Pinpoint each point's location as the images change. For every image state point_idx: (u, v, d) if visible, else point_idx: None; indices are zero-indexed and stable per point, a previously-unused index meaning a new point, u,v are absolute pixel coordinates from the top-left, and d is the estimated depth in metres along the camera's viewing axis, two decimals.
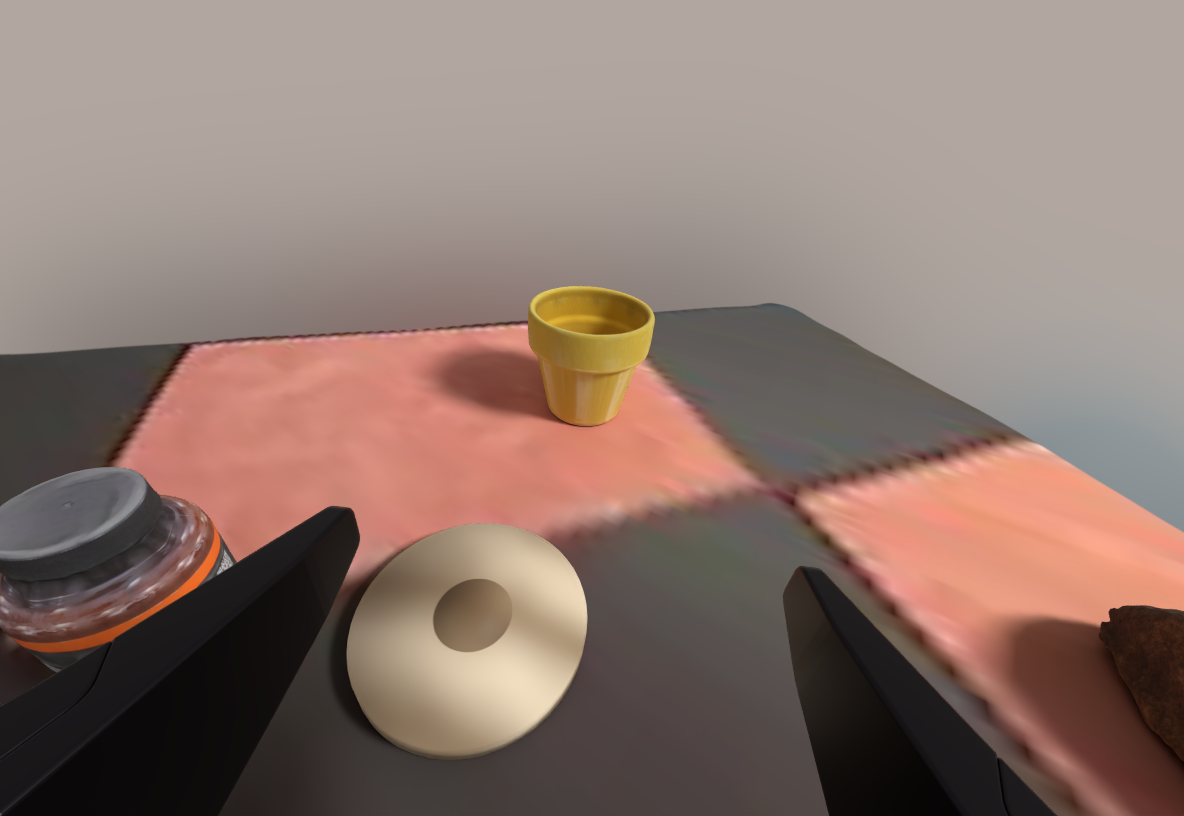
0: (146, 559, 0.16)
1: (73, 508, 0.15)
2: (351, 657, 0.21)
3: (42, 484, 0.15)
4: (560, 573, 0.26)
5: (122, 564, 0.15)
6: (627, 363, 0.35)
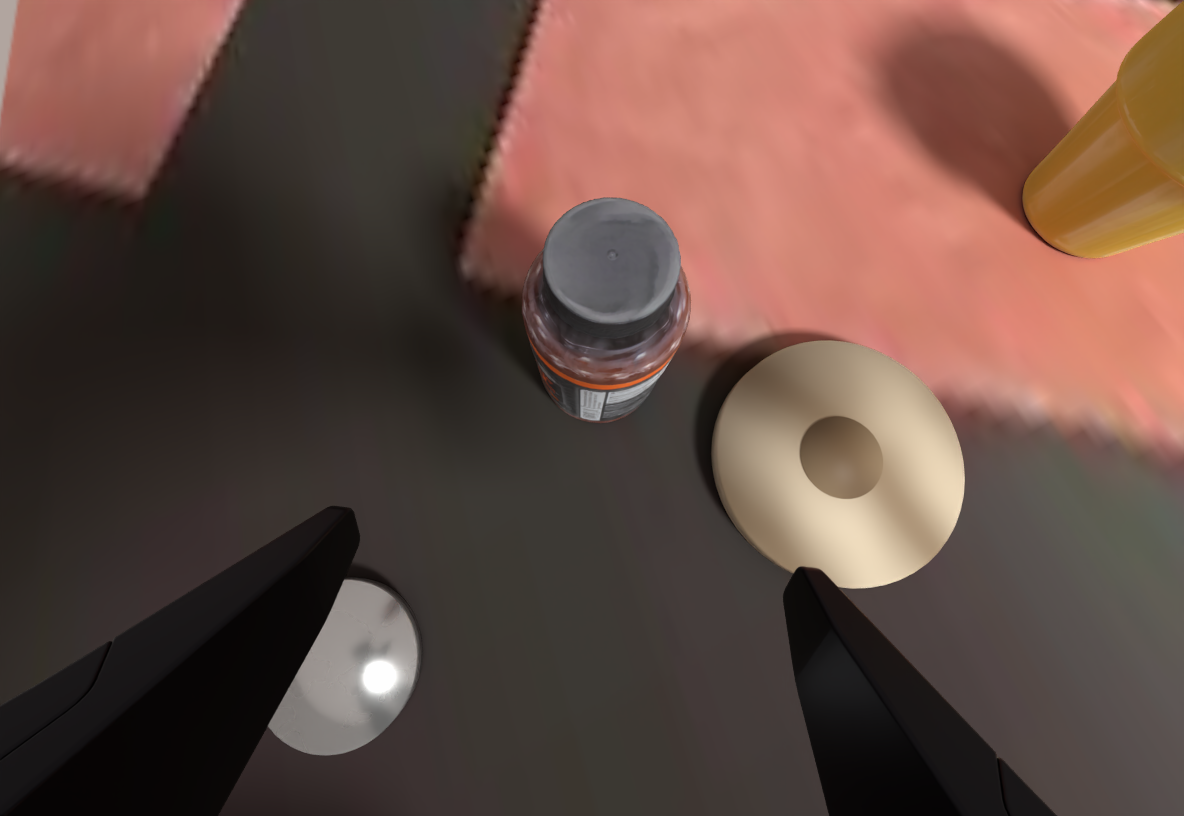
0: (653, 334, 0.14)
1: (619, 263, 0.13)
2: (722, 440, 0.22)
3: (584, 207, 0.13)
4: (946, 461, 0.22)
5: (638, 336, 0.14)
6: None
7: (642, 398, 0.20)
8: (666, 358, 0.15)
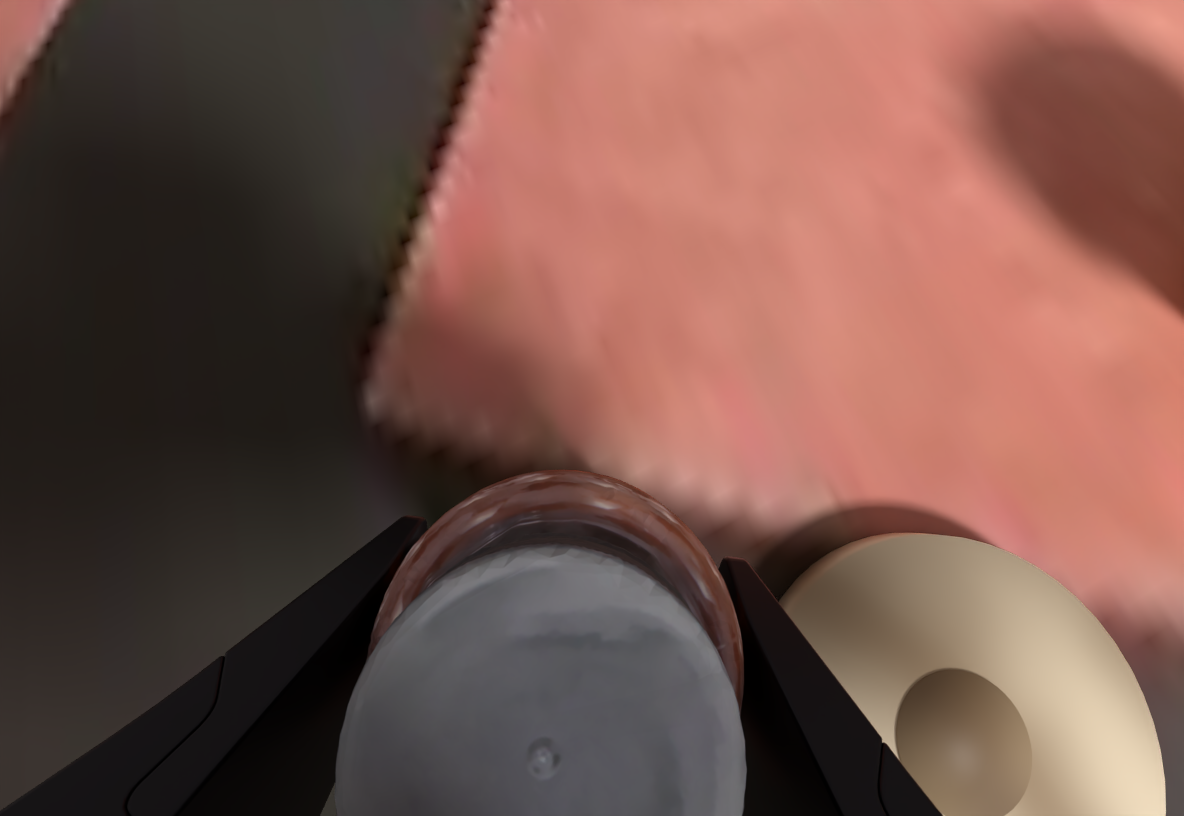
0: None
1: (564, 790, 0.04)
2: None
3: (466, 591, 0.04)
4: (1133, 749, 0.13)
5: None
6: None
7: None
8: None
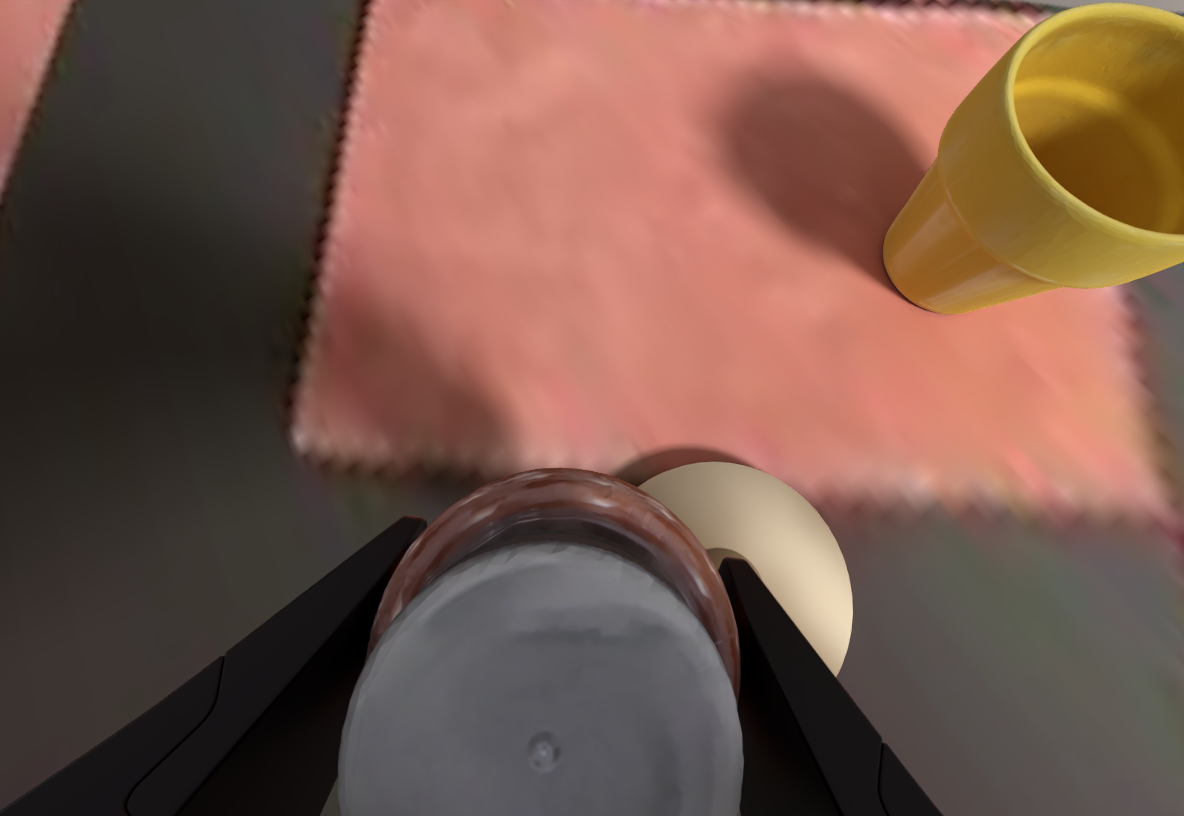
0: None
1: (564, 784, 0.04)
2: None
3: (467, 587, 0.05)
4: (831, 578, 0.21)
5: None
6: (1130, 280, 0.17)
7: None
8: None
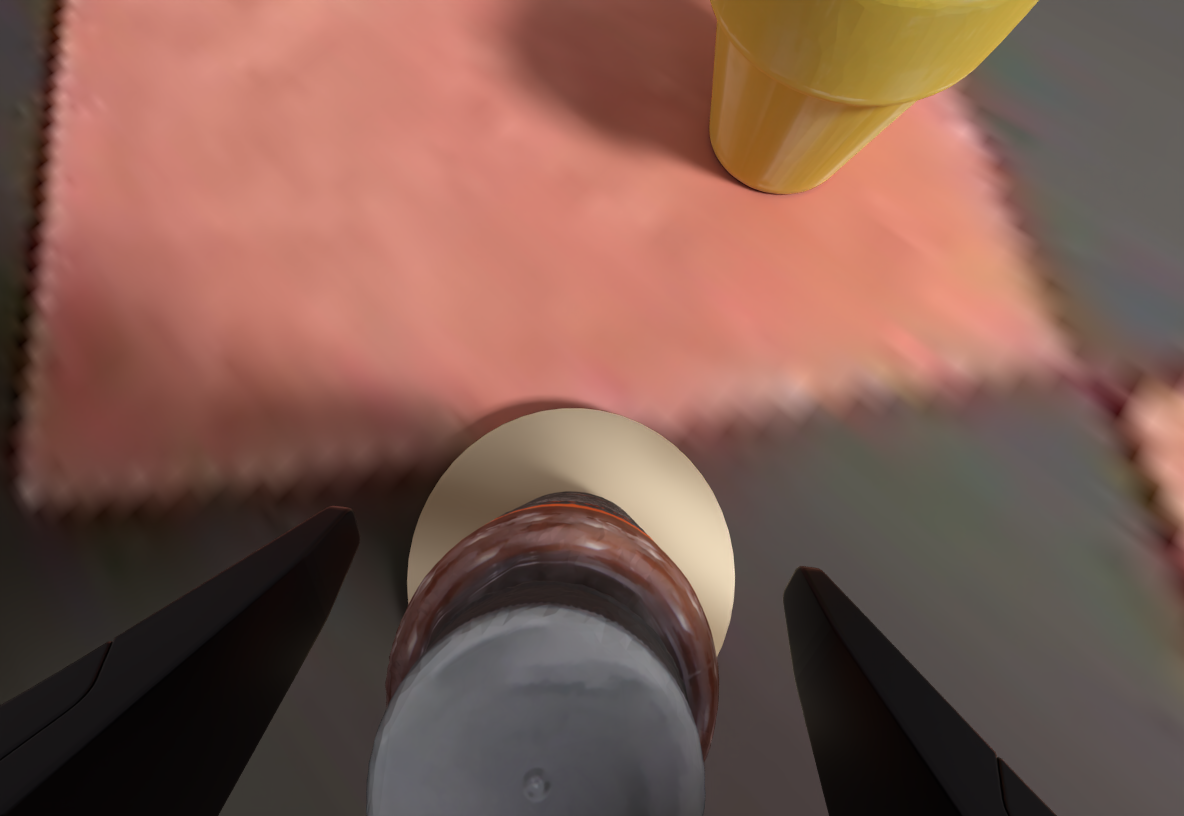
0: None
1: (553, 811, 0.05)
2: None
3: (471, 645, 0.05)
4: (701, 518, 0.17)
5: None
6: (948, 80, 0.14)
7: None
8: None
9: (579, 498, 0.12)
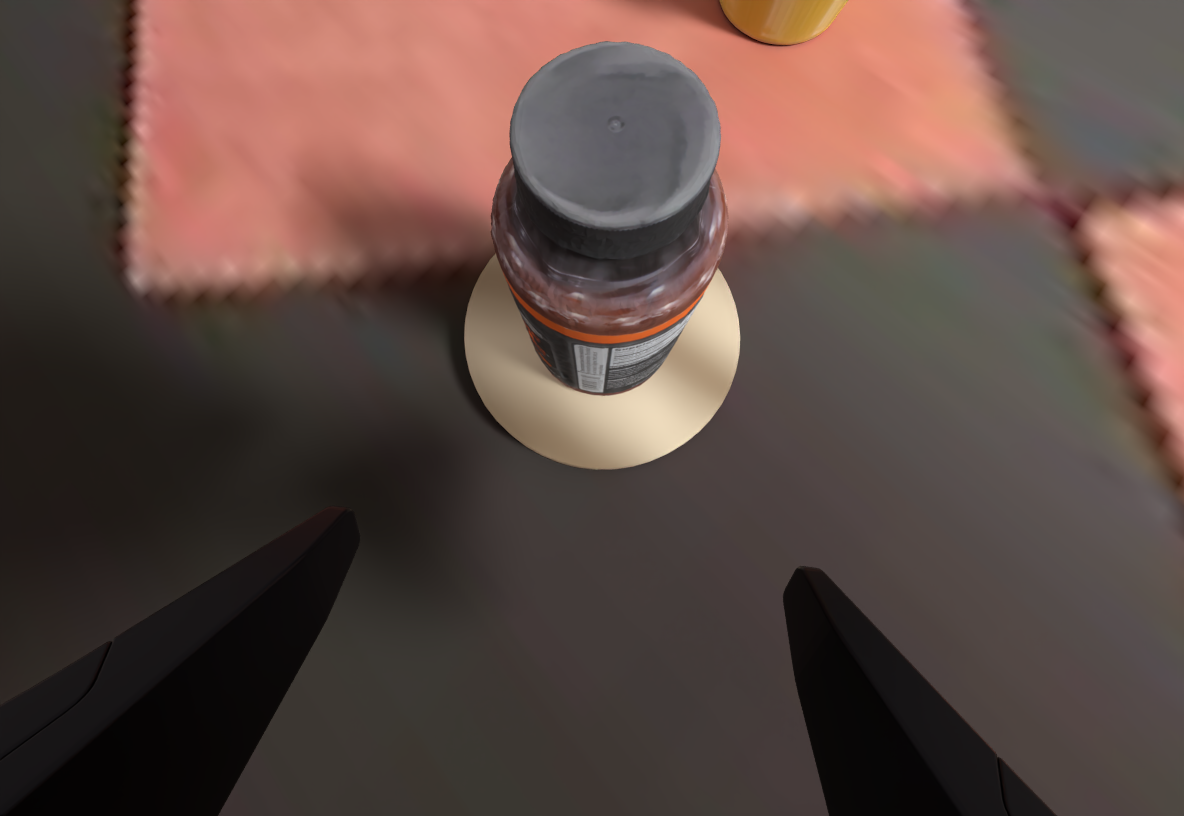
0: (675, 259, 0.10)
1: (626, 136, 0.08)
2: (471, 359, 0.19)
3: (573, 54, 0.09)
4: (711, 293, 0.20)
5: (655, 260, 0.10)
6: None
7: (657, 363, 0.16)
8: (693, 297, 0.11)
9: None
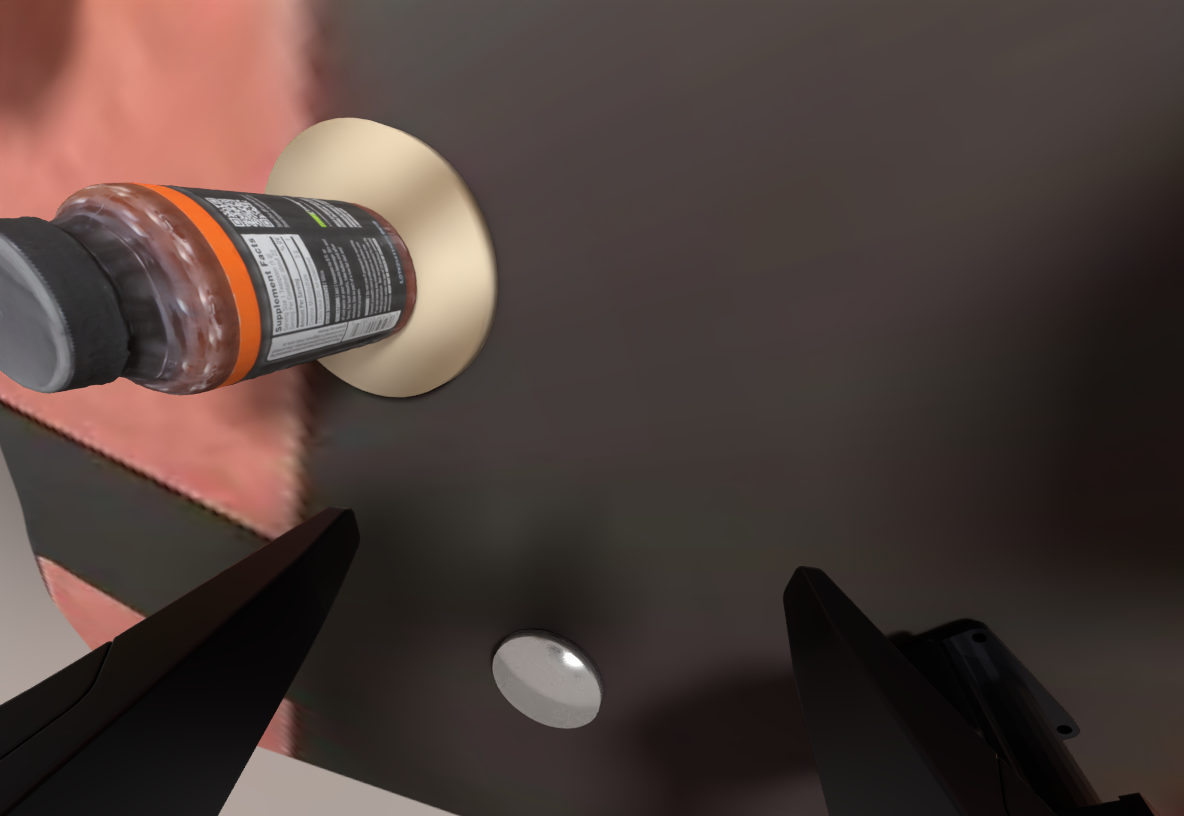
0: (151, 282, 0.11)
1: (4, 309, 0.10)
2: (367, 388, 0.23)
3: None
4: (355, 141, 0.18)
5: (143, 304, 0.11)
6: None
7: (363, 263, 0.16)
8: (206, 267, 0.12)
9: None
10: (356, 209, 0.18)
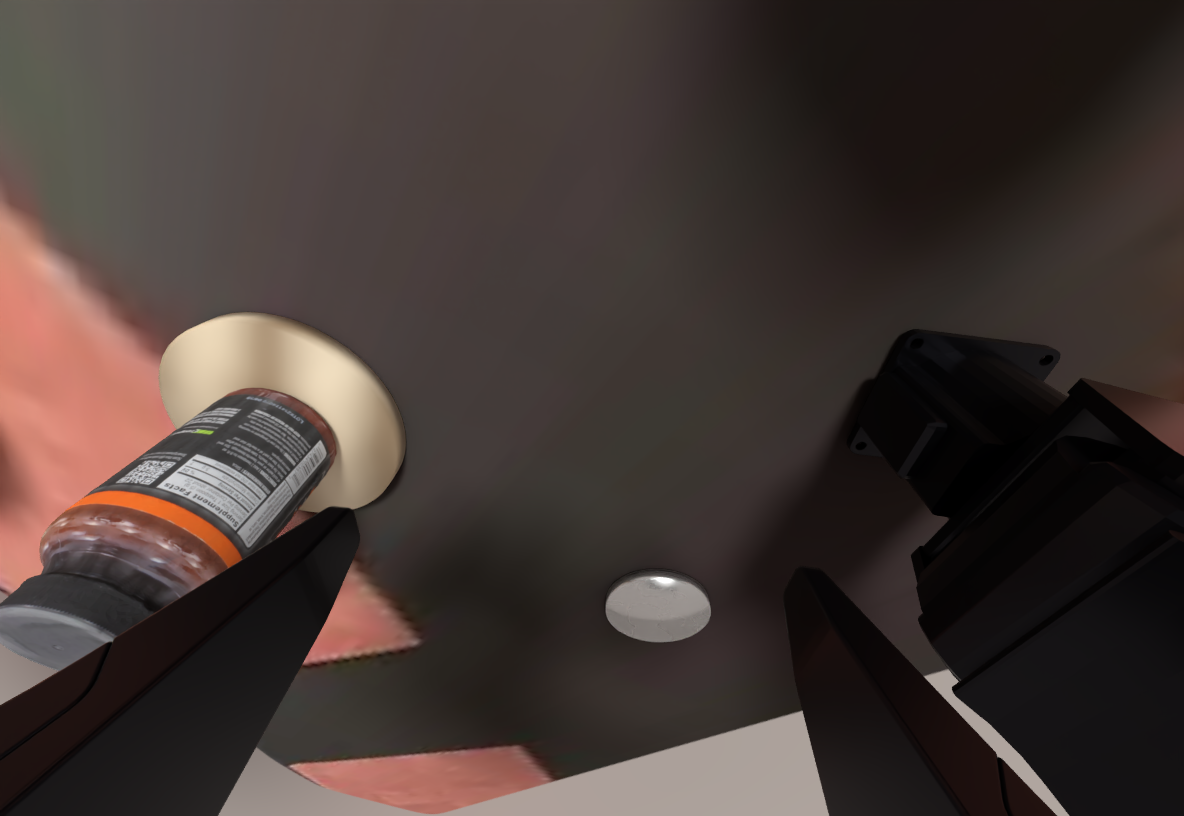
0: (125, 561, 0.14)
1: (59, 643, 0.14)
2: (357, 505, 0.26)
3: None
4: (192, 351, 0.21)
5: (133, 578, 0.14)
6: None
7: (260, 433, 0.19)
8: (150, 526, 0.15)
9: None
10: (229, 399, 0.20)
